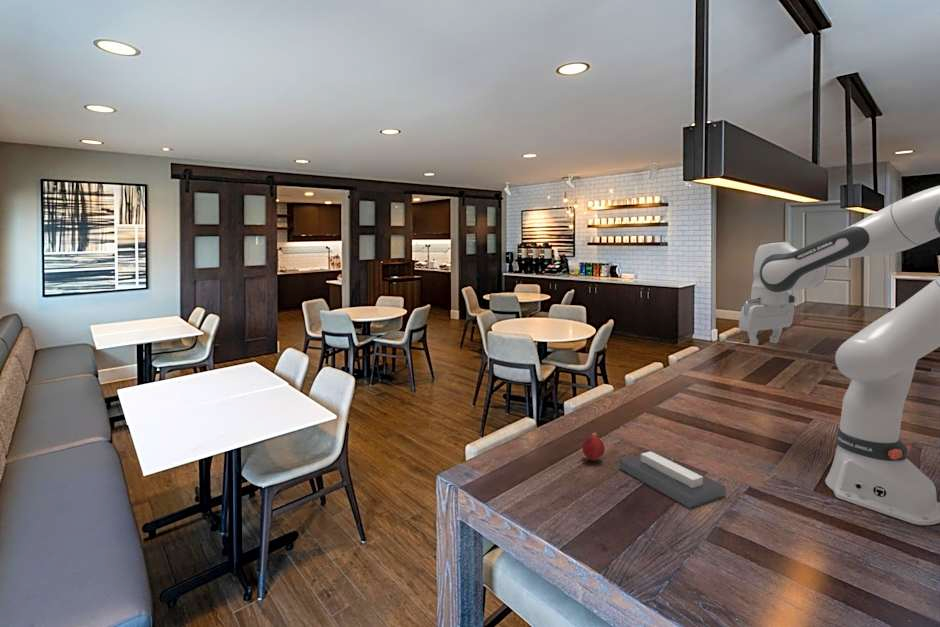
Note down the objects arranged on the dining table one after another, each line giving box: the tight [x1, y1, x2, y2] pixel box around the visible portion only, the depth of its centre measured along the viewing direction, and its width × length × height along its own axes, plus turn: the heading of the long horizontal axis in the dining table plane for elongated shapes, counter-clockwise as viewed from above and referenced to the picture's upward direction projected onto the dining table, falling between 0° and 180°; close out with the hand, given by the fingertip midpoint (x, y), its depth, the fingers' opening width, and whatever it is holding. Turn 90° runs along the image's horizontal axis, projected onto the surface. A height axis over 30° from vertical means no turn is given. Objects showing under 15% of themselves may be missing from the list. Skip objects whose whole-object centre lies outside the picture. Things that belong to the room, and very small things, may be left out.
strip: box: [640, 451, 703, 488], centre depth 125 cm, size 16×4×4 cm, turn 27°
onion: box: [581, 432, 606, 462], centre depth 137 cm, size 6×6×8 cm
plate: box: [619, 451, 727, 509], centre depth 125 cm, size 22×12×2 cm, turn 27°
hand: (763, 343), depth 149 cm, fingers open, 8 cm apart
